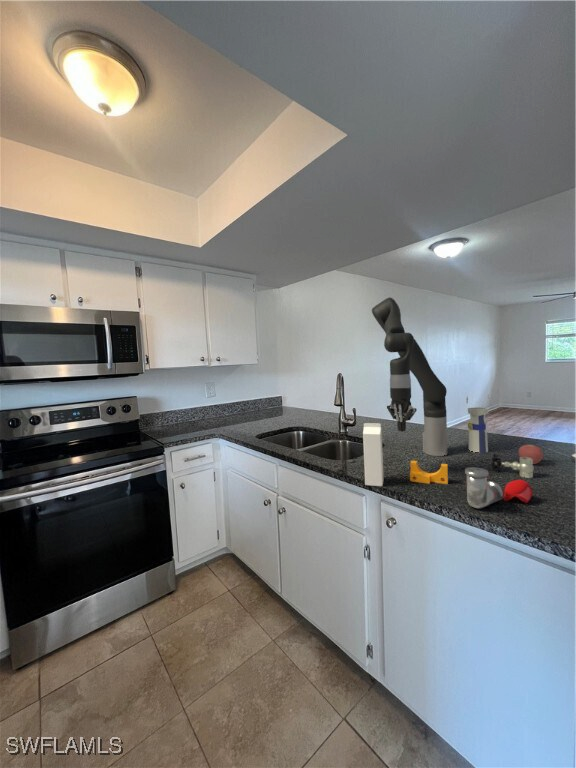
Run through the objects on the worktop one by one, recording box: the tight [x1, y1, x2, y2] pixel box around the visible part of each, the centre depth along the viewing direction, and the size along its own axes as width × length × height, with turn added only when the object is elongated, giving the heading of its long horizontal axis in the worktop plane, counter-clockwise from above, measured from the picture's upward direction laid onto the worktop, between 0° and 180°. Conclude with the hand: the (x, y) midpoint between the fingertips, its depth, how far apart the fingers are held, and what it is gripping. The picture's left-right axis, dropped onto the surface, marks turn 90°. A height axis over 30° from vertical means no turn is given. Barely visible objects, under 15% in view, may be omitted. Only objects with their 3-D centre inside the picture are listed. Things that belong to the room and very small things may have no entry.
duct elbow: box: [464, 466, 505, 510], centre depth 92 cm, size 11×6×11 cm, turn 118°
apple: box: [518, 444, 544, 465], centre depth 123 cm, size 7×7×8 cm
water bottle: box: [466, 396, 489, 454], centre depth 141 cm, size 8×9×25 cm
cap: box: [503, 479, 534, 504], centre depth 94 cm, size 8×6×6 cm
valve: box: [491, 453, 535, 479], centre depth 114 cm, size 7×7×12 cm
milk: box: [362, 422, 384, 487], centre depth 113 cm, size 6×6×22 cm
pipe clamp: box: [409, 460, 449, 485], centre depth 112 cm, size 12×4×6 cm, turn 60°
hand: (401, 430), depth 120 cm, fingers closed
